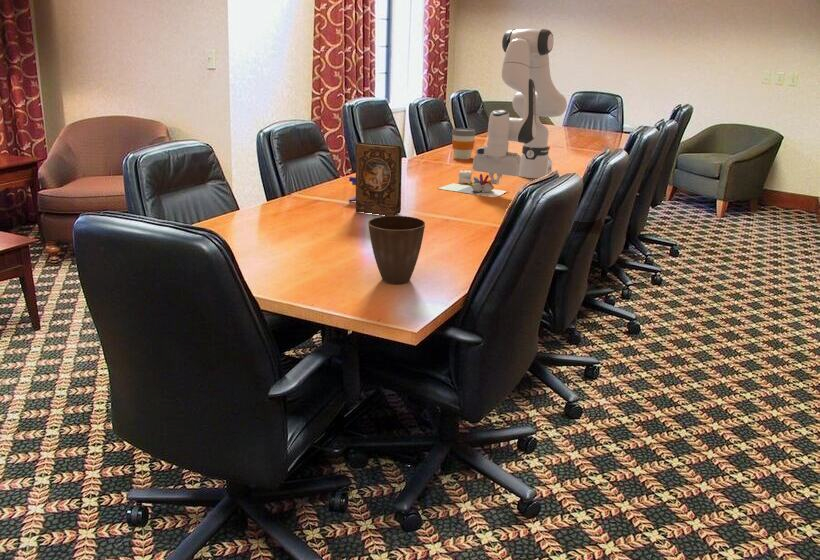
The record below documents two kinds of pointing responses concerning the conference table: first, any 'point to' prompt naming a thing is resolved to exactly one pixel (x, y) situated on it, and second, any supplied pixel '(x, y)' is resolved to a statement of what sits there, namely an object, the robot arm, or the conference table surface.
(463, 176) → the die
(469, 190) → the game mat
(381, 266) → the plant pot
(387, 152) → the book
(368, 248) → the conference table surface
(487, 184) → the rainbow segmented toy
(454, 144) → the reusable coffee cup
